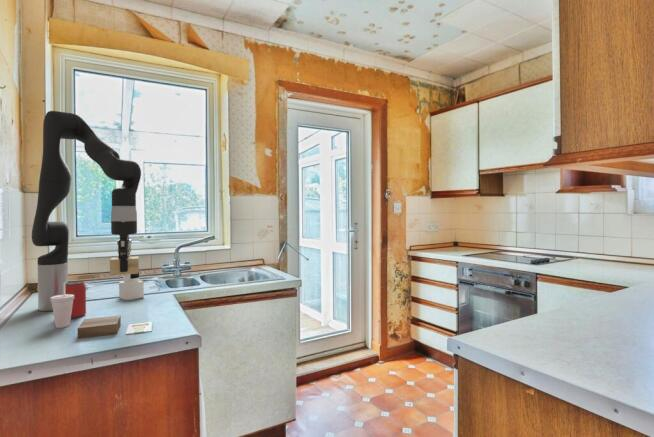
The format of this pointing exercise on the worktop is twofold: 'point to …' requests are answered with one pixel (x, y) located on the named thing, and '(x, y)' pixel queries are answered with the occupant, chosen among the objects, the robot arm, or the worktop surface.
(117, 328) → the base slab
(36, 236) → the robot arm
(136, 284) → the medicine bottle
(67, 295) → the smoothie
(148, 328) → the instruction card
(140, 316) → the worktop surface
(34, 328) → the worktop surface
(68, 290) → the beer can
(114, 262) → the oak brick
